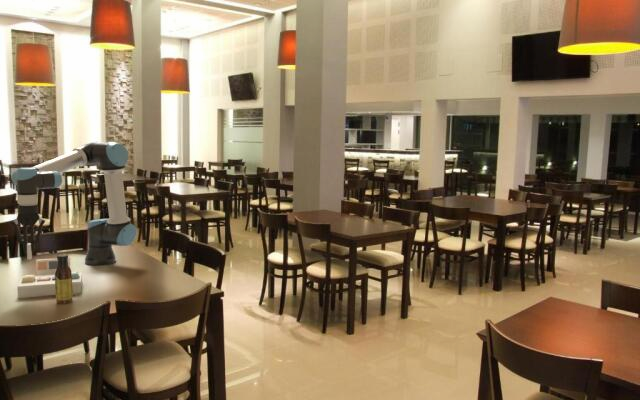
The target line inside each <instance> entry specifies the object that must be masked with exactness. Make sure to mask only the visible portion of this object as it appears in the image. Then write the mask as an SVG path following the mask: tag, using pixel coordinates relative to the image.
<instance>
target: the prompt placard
mask: <svg viewBox="0 0 640 400" xmlns="http://www.w3.org/2000/svg"><path fill="white" fill-rule="evenodd" d="M68 266H69V268H70V269H71V257H68ZM57 267H58V260H57V258H42V259H36V260H35V271H36V272H35V273H36V275H35V276H37V275H52V274H55V272H56V270H57Z"/></svg>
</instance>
